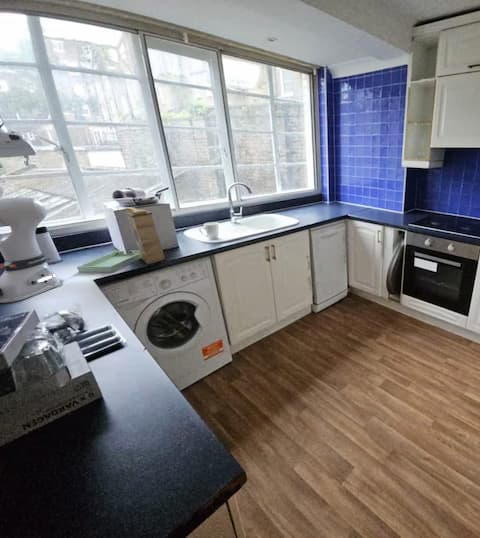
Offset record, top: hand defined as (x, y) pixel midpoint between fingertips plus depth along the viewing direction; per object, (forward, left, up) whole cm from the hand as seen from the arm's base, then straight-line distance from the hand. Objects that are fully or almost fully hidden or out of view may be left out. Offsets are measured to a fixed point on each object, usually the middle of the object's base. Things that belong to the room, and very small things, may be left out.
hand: (14, 166), depth 142 cm
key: (+4, -50, -24) cm, 55 cm away
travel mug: (-2, +1, -50) cm, 50 cm away
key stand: (+1, -54, -50) cm, 73 cm away
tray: (-4, -36, -50) cm, 61 cm away
